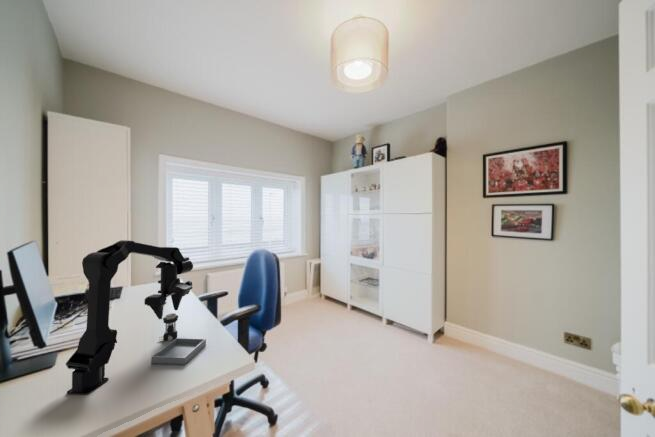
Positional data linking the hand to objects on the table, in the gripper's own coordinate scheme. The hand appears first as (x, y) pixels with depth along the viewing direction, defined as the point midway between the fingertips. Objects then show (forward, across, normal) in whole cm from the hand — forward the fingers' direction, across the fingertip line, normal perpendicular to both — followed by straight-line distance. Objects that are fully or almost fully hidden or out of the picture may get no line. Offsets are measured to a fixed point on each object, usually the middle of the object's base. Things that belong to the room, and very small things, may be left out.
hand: (168, 314), depth 98 cm
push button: (+11, 0, 0) cm, 11 cm away
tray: (+10, -10, -12) cm, 19 cm away
